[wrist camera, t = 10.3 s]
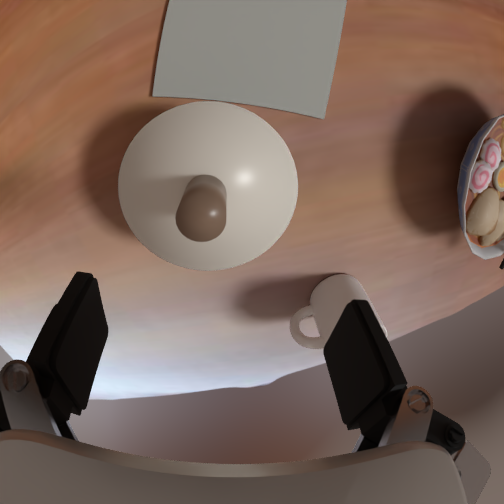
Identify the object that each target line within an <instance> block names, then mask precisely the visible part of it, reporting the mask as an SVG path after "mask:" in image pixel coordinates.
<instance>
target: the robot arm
mask: <svg viewBox="0 0 504 504" xmlns="http://www.w3.org/2000/svg"><path fill="white" fill-rule="evenodd" d="M107 337H108V325H107V322H106V318H105V314H104V309H103V305H102V301H101V296H100V291H99V286H98V281H97V279H96V278H94V277H93V275H92V274H91V273H85V272H76V274H75V275H74V277H73V278H72V280H71V282H70V283H69V285H68V287H67V288H66V290H65V292H64V293H63V295H62V297H61V299H60V300H59V302H58V304H56V305H55V306H54V307H53V309H52V311H51V312H50V314H49V316H48V318H47V320H46V322H45V324H44V325H43V327H42V329H41V331H40V333H39V335H38V337H37V339H36V341H35V343H34V346H33V348H32V350H31V352H30V354H29V356H28V358H27V361H26V362H25V361H22V360H12V361H10V362H8V363H6V365H5V366H4V367H3V368H2V370H1V371H0V504H475V503H476V501H477V499H478V498H479V496H480V494H481V492H482V490H483V489H484V487H485V485H486V483H487V481H488V479H489V477H490V474H491V468H490V464H489V463H488V461H487V460H486V459H485V458H484V457H483V456H482V455H481V454H480V453H479V451H478V450H477V449H476V448H475V447H474V446H473V445H472V444H471V443H470V442H469V441H468V440H467V441H466V442H465V433H464V431H463V428H462V427H461V426H460V425H459V424H458V423H456V422H455V421H453V420H451V419H449V418H448V417H446V416H444V415H442V414H441V413H439V412H437V411H436V410H434V409H433V400H432V397H431V396H430V394H429V393H428V392H427V391H426V390H425V389H423V388H422V387H419V386H412V387H409V388H408V389H407V386H406V384H407V381H406V379H405V377H404V374H403V372H402V370H401V368H400V366H399V363H398V361H397V359H396V357H395V355H394V353H393V351H392V348H391V346H390V344H389V342H388V340H387V338H386V336H385V334H384V332H383V330H382V328H381V326H380V324H379V322H378V320H377V318H376V316H375V314H374V312H373V310H372V308H371V306H370V304H369V302H368V301H367V300H358V299H353V300H352V301H351V302H350V303H348V304H347V305H346V306H345V308H344V310H343V312H342V314H341V316H340V318H339V320H338V322H337V324H336V326H335V328H334V330H333V331H332V333H331V335H330V337H329V339H328V341H327V342H326V344H325V346H324V357H325V360H326V363H327V367H328V371H329V374H330V377H331V381H332V385H333V388H334V391H335V395H336V399H337V402H338V406H339V409H340V413H341V417H342V421H343V423H344V424H347V428H348V430H352V429H358V428H360V430H361V435H360V437H359V439H358V441H357V443H356V445H355V447H354V449H353V451H352V453H349V454H343V455H338V456H332V457H326V458H319V459H312V460H305V461H295V462H284V463H269V464H208V463H207V464H206V463H193V462H181V461H172V460H164V459H157V458H150V457H143V456H139V455H133V454H128V453H123V452H119V451H114V450H110V449H105V448H101V447H97V446H93V445H89V444H86V443H82V442H79V441H78V439H77V437H76V435H75V433H74V431H73V429H72V427H71V425H70V423H69V421H68V420H69V418H70V414H71V413H73V414H76V415H81V411H82V409H83V410H84V409H86V407H87V403H88V399H89V396H90V392H91V388H92V385H93V381H94V378H95V374H96V371H97V368H98V364H99V361H100V358H101V355H102V352H103V349H104V346H105V343H106V340H107Z"/></svg>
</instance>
